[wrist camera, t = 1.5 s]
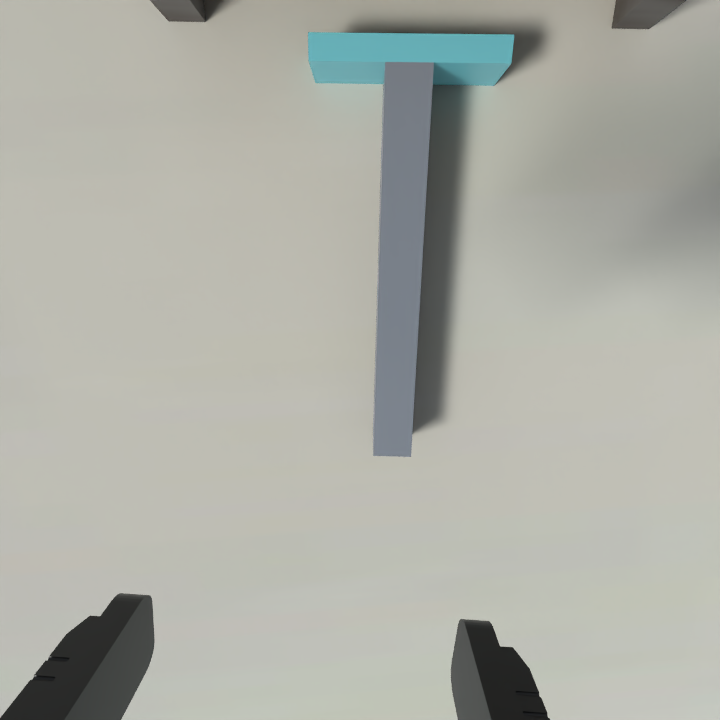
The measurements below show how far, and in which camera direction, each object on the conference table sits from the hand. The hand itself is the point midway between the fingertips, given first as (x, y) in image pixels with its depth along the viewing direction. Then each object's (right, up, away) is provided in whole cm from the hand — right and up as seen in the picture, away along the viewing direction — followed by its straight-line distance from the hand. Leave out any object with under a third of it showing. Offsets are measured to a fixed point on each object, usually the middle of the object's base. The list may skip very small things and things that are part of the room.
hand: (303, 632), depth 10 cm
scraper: (+4, +12, +15) cm, 20 cm away
